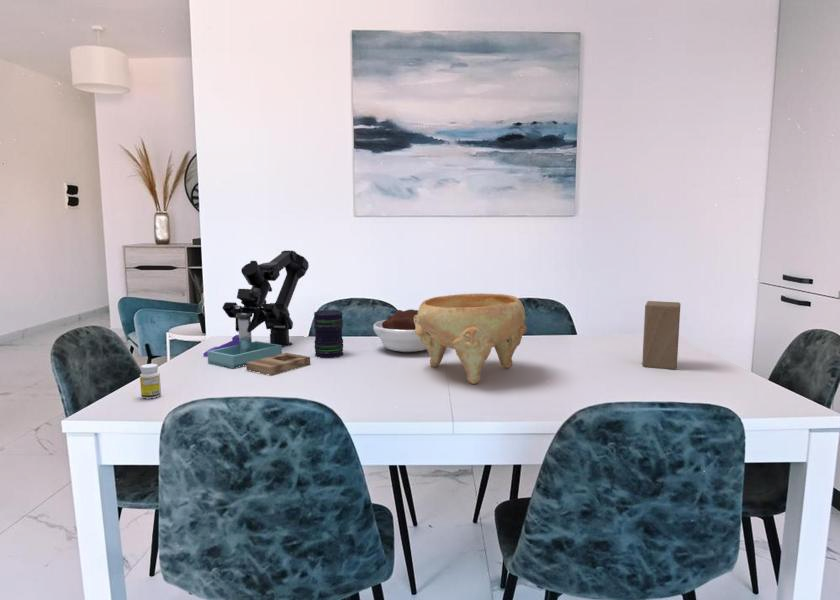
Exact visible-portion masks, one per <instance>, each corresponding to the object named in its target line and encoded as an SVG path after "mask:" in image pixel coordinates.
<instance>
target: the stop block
mask: <svg viewBox="0 0 840 600" xmlns="http://www.w3.org/2000/svg"><path fill="white" fill-rule="evenodd" d="M306 365H307V366H310V365H311V356H308V355H307V356H306V355H300V354H296V353H295V354H294V353H289V352H284V353H283V352H282V354H279V355H275V356H271V357H267V358H263V359H259V360H255V361H250V362H246V366H245V367H246V368H245V369H246V371H247V370H251V371H250V372H252V371H255V372H254V373H256V372H260V373H259V374H261V373H264V374H263V375H266V374H269V375H268V376H270V375H271V376H273V375H272V374H274V375H277V374H276V373H278V374H281V373H280V372H282V373H284V372H283V371H285V372H288V371H287V370H289V371H291V369H292V370H295V368H296V369H299V367H300V368H303V367H307V366H306Z"/></svg>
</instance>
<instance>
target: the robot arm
mask: <svg viewBox="0 0 840 600" xmlns="http://www.w3.org/2000/svg"><path fill="white" fill-rule="evenodd" d="M309 267H310V266H309V261H308V260H307V258H305V257H304V256H302V255H301V254H299V253H297V251H295V250H282V251H281V252H280V254H278V255H277V256H275V258H273V259H272V260H271V261H269V262H263V263H260V264H258V262H257V260H250V262H249V263H246V264H245V265H243V266H242V267H241V272H240V273H242V275H243V277H244V279H245V280H246V282H247V283H248V285H250V286H251V288H238V289H237V295H236V299H237V300H238V299H239V300H240V301H241V302H240V304H241V305H239V304H237V302H234V301H233V302H231V301H230V302H229V301H228V302H224V304H223V305H222V310H223V311H224V313H225V314H226V315H227V317H228V318H231V319H232V318H233V319H235V332H237V333H239V329H238V318H237V317H236V313H238V312H252V317H251V323H250V325H249V328H248V332H251V333H252V332H253V331H254V330H255V329H256V328H257V327H259V326H260V325H262V324H263V323H264V324H265V328H266V330H269V331H270V333H269V343H271V344H277V345H282V347H284V346H283V345H286V346H289V345H288V344H290V345H292V344H293V342H290V332H289V331H290V330H292V329H293V326H294V321H293V320H292V318H291V317H290V315H291V314H290V310H289V306H290V304H291V300H292V298H293V295H294V292H295V290H296V287H297V285H298V281H299V280H300V279H301V278H303V277H304V276H305V275H306V274H307V271H308V269H309ZM283 269H285V272H286V275H285V278H284V280H283V283H282V285H281V288H280V290H279V293H278V296H277V298H276V300H275V302H270V303H267V300H266V298H267V295H268V294H269V293H271V292H273V288H272V286H271V283H270V281H271V282H275V281H277V279H278V278H279V277H280V276H281V275H280V274H281V273H280V272H281V271H282V270H283ZM242 305H243V306H242Z"/></svg>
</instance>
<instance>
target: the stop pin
mask: <svg viewBox="0 0 840 600" xmlns="http://www.w3.org/2000/svg"><path fill="white" fill-rule="evenodd" d="M236 317H237V318H238V329H239V331H238V335H239V352H241V353H246V352H251V351H252V342H253V341H252V331H251V332H248V328H249V325H250V323H251V321H252V318H253V314H252V312H238V313H236Z"/></svg>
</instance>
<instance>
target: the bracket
mask: <svg viewBox="0 0 840 600" xmlns="http://www.w3.org/2000/svg"><path fill="white" fill-rule="evenodd" d="M235 345H239V334H235V335H234V336H233V337H232V336H231V341H228V342H227V343H223V344H221V345H219V346H214V347H211V348H209V349H208V350H206V351H204V352H203V358H208V351H211V350H216V349H221V348H226V347H230V346H235Z"/></svg>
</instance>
